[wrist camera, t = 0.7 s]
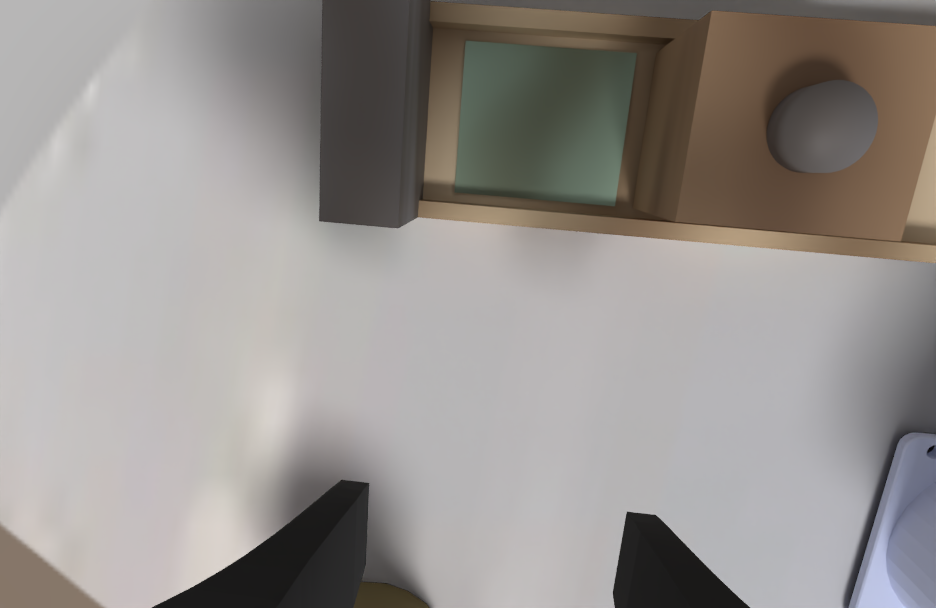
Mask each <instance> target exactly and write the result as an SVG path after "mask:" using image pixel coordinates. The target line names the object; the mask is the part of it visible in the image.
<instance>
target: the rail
mask: <svg viewBox="0 0 936 608" xmlns="http://www.w3.org/2000/svg"><path fill="white" fill-rule="evenodd" d="M697 21H699V20H689V19H675V18H660V17H646V16H632V15H618V14H604V13H590V12H575V11H561V10H547V9H533V8H519V7H505V6H490V5H476V4H462V3H448V2H434V1H430V0H323V9H322V75H321V141H320V207H319V221H323V222H334V223H345V224H356V225H367V226H378V227H389V228H399V227H401V226H403V225H405V224H407V223H408V222H410V221H412V220H414V219H416V218H417V217H422V218H433V219H444V220H455V221H467V222H478V223H489V224H500V225H512V226H523V227H534V228H546V229H557V230H568V231H579V232H591V233H602V234H613V235H624V236H636V237H647V238H658V239H669V240H681V241H692V242H703V243H714V244H726V245H737V246H748V247H760V248H771V249H782V250H793V251H805V252H816V253H827V254H838V255H850V256H861V257H872V258H883V259H895V260H906V261H917V262H929V263H936V116H935V120H934V123H933V127H932V131H931V134H930V138H929V142H928V145H927V149H926V152H925V156H924V160H923V163H922V167H921V171H920V174H919V178H918V182H917V185H916V189H915V192H914V196H913V200H912V203H911V207H910V211H909V214H908V218H907V222H906V225H905V229H904V232H903V236H902V240H901V241H890V240H878V239H867V238H856V237H844V236H833V235H821V234H810V233H798V232H787V231H775V230H764V229H752V228H741V227H730V226H718V225H707V224H695V223H684V222H674V221H671V220H668V219H665V218H662V217H659V216H656V215H652V214H649V213H646V212H643V211H640V210H637V209H634V208H633V202H634V195H635V189H636V182H637V176H638V169H639V163H640V156H641V150H642V143H643V137H644V130H645V123H646V117H647V110H648V104H649V97H650V91H651V84H652V78H653V71H654V65H655V58H656V53H657V52H658V51H660V50H661V49H662V48H664V47H665V46H666V45H667V44H669V43H670V42H671V41H673V40H674V39H675V38H677V37H678V36H679V35H680V34H682V33H683V32H684V31H686V30H687V29H688V28H690V27H691V26H692V25H693V24H695V23H696V22H697Z"/></svg>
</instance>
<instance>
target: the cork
mask: <svg viewBox="0 0 936 608" xmlns="http://www.w3.org/2000/svg"><path fill="white" fill-rule="evenodd" d="M353 608H429V606H428V605H427V604H426V603H424V602H423V601H422V600H420V599H419V598H417V597H416V596H414V595H413V594H411V593H410V592H408V591H406V590H403V589H400V588H397V587H394V586H392V585H389V584H386V583H371V582H361V583H360V586H359V590H358V593H357V597H356V600H355V604H354V607H353Z"/></svg>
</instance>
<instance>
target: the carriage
mask: <svg viewBox="0 0 936 608" xmlns="http://www.w3.org/2000/svg"><path fill="white" fill-rule="evenodd" d="M935 116H936V26H928V25H914V24H900V23H885V22H871V21H856V20H842V19H828V18H813V17H799V16H785V15H770V14H756V13H742V12H727V11H713V10H712V11H710V12H709V13H708V14H707V15H705V16H704V17H703V18H701V19H700V20H699V21H697V22H696V23H695V24H693V25H692V26H691V27H690V28H688V29H687V30H686V31H684V32H683V33H682V34H680V35H679V36H678V37H677V38H675V39H674V40H673V41H671V42H670V43H669V44H667V45H666V46H665V47H664V48H662V49H661V50H660V51H658V52H657V53H656V58H655V65H654V71H653V78H652V84H651V91H650V97H649V104H648V110H647V117H646V123H645V130H644V137H643V143H642V150H641V156H640V163H639V169H638V176H637V182H636V189H635V195H634V202H633V208H634V209H637V210H640V211H643V212H646V213H649V214H652V215H656V216H659V217H662V218H665V219H668V220H671V221H674V222H684V223H695V224H707V225H718V226H730V227H741V228H752V229H764V230H775V231H787V232H798V233H810V234H821V235H833V236H844V237H856V238H867V239H878V240H890V241H901V240H902V236H903V232H904V229H905V225H906V222H907V218H908V214H909V211H910V207H911V203H912V200H913V196H914V192H915V189H916V185H917V182H918V178H919V174H920V171H921V167H922V163H923V160H924V156H925V152H926V149H927V145H928V142H929V138H930V134H931V131H932V127H933V123H934V120H935Z"/></svg>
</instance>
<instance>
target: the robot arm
mask: <svg viewBox="0 0 936 608" xmlns="http://www.w3.org/2000/svg"><path fill="white" fill-rule="evenodd" d="M933 445H934V449H933V450H932V451H931V452H929V453H927V450H928V449H929V448H930V447H931V446H933ZM368 495H369V483H364V482H355V481H346V480H341V481H340V482H338V483H337V484H336V485H335V486H333V487H332V488H331V489H330V490H328V491H327V492H326V493H325V494H324V495H322V496H321V497H320V498H319V499H318V500H317V501H315V502H314V503H313V504H312V505H311V506H309V507H308V508H307V509H306V510H305V511H303V512H302V513H301V514H300V515H298V516H297V517H296V518H295V519H293V520H292V521H291V522H290V523H288V524H287V525H286V526H284V527H283V528H282V529H281V530H279V531H278V532H277V533H275V534H274V535H273V536H271V537H270V538H269V539H267V540H266V541H264V542H263V543H262V544H260V545H259V546H257V547H256V548H255V549H253V550H252V551H250V552H249V553H248V554H246V555H245V556H243V557H242V558H240V559H239V560H237V561H236V562H234V563H232V564H231V565H229V566H228V567H226V568H225V569H223V570H221V571H220V572H218V573H216V574H214V575H213V576H211V577H209V578H208V579H206V580H204V581H202V582H201V583H199V584H197V585H195V586H194V587H192V588H190V589H188V590H186V591H184V592H182V593H180V594H178V595H176V596H174V597H172V598H170V599H168V600H166V601H164V602H162V603H160V604H158V605H156V606H154V607H152V608H353V607H354V604H355V600H356V597H357V593H358V590H359V586H360V583H361V579H362V575H363V572H364V568H365V564H366V543H367V519H368ZM613 598H614V605H615V608H750V607H749V606H748V605H746V604H745V603H744V602H743V601H742V600H741V599H740V598H739V597H738V596H737V595H736V594H734V593H733V592H732V591H731V590H730V589H729V588H728V587H727V586H726V585H725V584H724V583H723V582H722V581H721V580H720V579H719V578H718V577H717V576H716V575H715V574H714V573H713V572H712V571H711V570H710V569H709V568H708V567H707V566H706V565H705V564H704V563H703V562H702V561H701V560H700V559H699V558H698V557H697V556H696V555H695V554H694V553H693V552H692V551H691V550H690V549H689V548H688V547H687V546H686V545H685V544H684V543H683V542H682V541H681V540H680V539H679V538H678V537H677V536H676V535H675V534H674V533H673V531H672V530H671V529H670V528H669V527H668V526H667V525H666V524H665V523H664V522H663V521H662V520H661V519H660V518H658V517H657V516H656V515H650V514H642V513H633V512H627V514H626V520H625V526H624V531H623V537H622V543H621V549H620V555H619V560H618V566H617V572H616V578H615V583H614V589H613ZM849 608H936V434H927V433H917V432H916V433H909V434H907V435H905V436H903V437H902V438H901V439H900V441H899V443H898V445H897V448H896V451H895V455H894V458H893V461H892V465H891V468H890V471H889V475H888V478H887V481H886V485H885V488H884V491H883V495H882V498H881V501H880V505H879V508H878V511H877V515H876V518H875V521H874V525H873V528H872V531H871V535H870V538H869V541H868V545H867V548H866V551H865V555H864V558H863V561H862V564H861V568H860V571H859V574H858V578H857V581H856V584H855V588H854V591H853V594H852V598H851V601H850V604H849Z"/></svg>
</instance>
